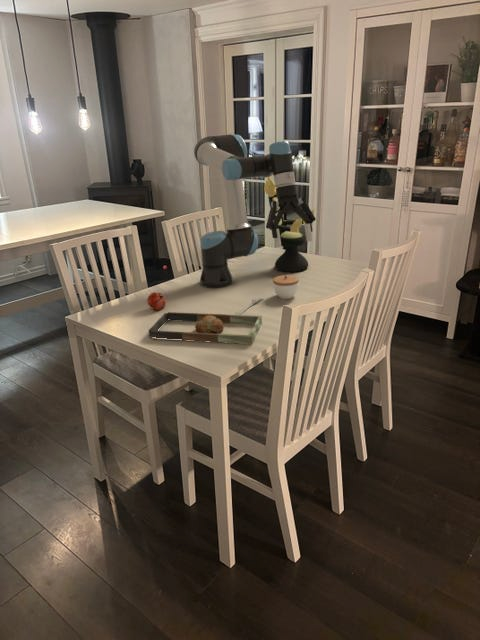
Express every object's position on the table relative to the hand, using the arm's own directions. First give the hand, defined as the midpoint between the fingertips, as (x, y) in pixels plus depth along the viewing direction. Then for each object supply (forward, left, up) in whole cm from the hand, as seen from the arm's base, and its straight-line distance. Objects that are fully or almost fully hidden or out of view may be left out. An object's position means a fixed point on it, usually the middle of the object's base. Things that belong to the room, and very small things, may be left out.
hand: (294, 244), depth 178 cm
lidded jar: (-16, -6, -27) cm, 32 cm away
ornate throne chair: (-56, -11, -27) cm, 63 cm away
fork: (-3, -19, -27) cm, 33 cm away
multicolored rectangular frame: (+22, -30, -27) cm, 46 cm away
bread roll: (+22, -29, -27) cm, 45 cm away
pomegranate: (+3, -57, -27) cm, 63 cm away
